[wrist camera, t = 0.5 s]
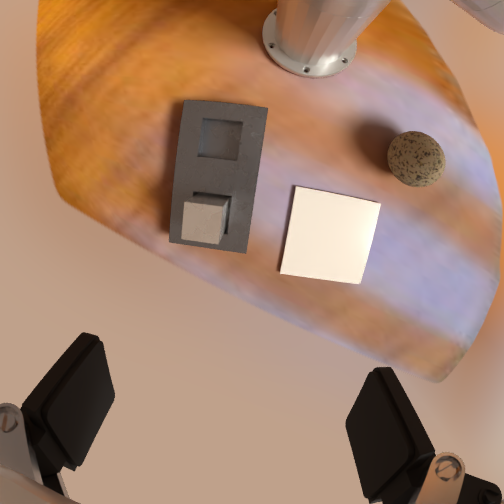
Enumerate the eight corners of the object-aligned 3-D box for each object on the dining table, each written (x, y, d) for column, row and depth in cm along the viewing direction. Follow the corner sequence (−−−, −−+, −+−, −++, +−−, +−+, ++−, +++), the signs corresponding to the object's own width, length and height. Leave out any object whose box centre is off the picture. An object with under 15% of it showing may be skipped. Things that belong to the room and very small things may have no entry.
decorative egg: (383, 187, 35) (419, 198, 26) (372, 136, 33) (408, 132, 23) (423, 178, 34) (465, 188, 25) (414, 130, 32) (456, 127, 23)
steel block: (200, 192, 36) (184, 201, 28) (230, 196, 36) (222, 206, 28) (197, 221, 37) (181, 239, 29) (226, 226, 37) (218, 244, 29)
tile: (295, 186, 35) (296, 186, 35) (379, 203, 36) (380, 203, 35) (279, 271, 39) (280, 273, 39) (358, 282, 40) (359, 284, 39)
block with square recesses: (190, 104, 32) (184, 100, 29) (267, 111, 32) (268, 108, 30) (175, 235, 38) (168, 242, 35) (247, 246, 38) (246, 253, 35)
